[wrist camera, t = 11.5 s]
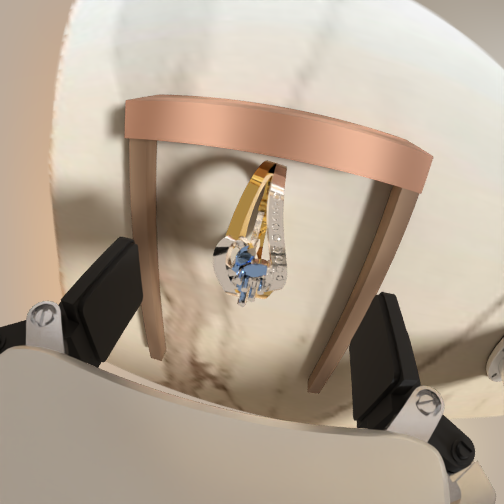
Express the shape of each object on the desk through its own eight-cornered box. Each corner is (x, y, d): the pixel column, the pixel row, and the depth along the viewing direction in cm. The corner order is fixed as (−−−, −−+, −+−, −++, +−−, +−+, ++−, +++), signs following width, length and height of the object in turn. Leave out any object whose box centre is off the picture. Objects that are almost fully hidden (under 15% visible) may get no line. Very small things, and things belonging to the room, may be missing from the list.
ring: (276, 253, 20) (261, 343, 13) (231, 239, 20) (196, 324, 13) (310, 158, 16) (318, 216, 10) (257, 141, 16) (226, 187, 10)
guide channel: (422, 145, 14) (452, 164, 11) (319, 381, 28) (318, 414, 24) (143, 94, 15) (106, 100, 12) (155, 346, 29) (142, 376, 25)
